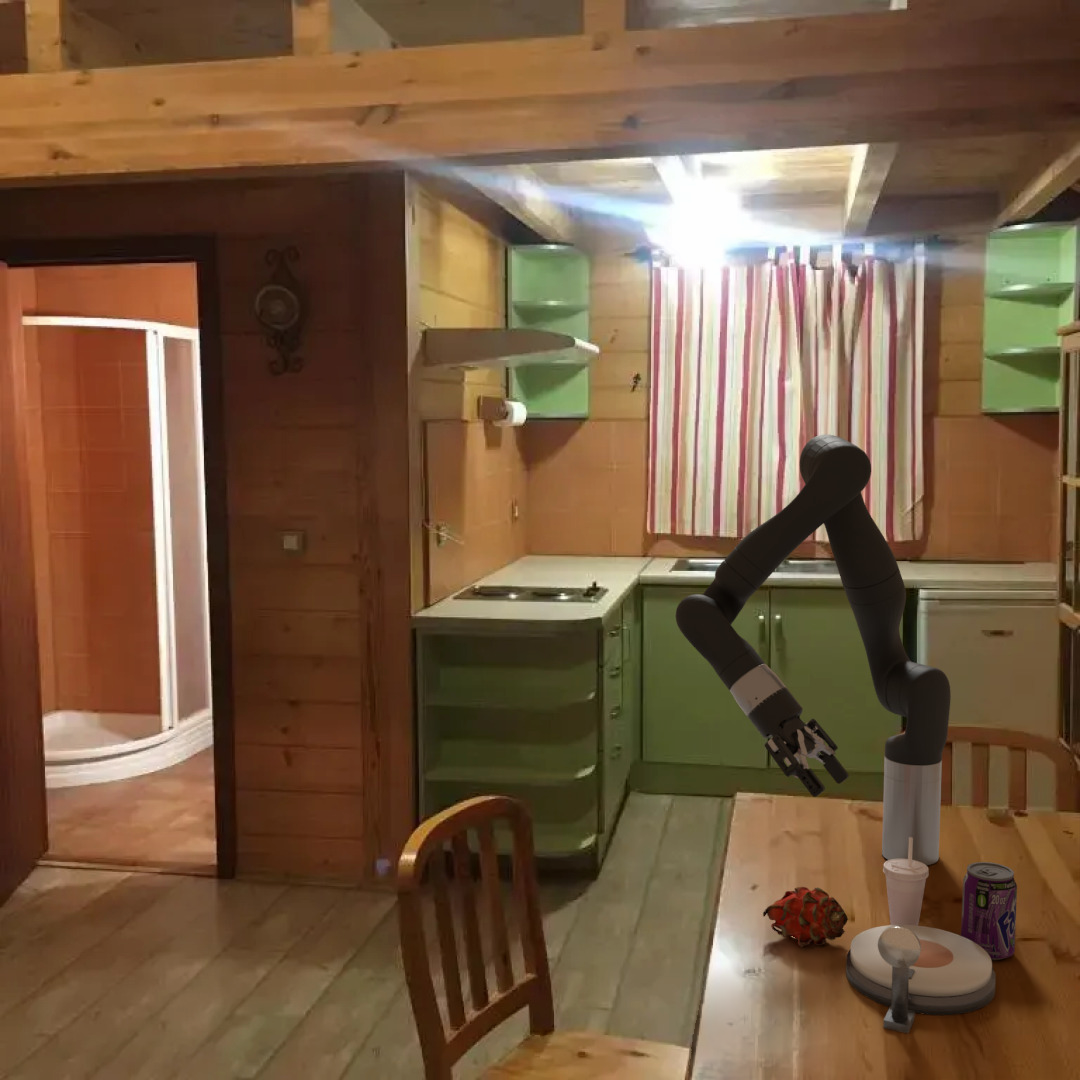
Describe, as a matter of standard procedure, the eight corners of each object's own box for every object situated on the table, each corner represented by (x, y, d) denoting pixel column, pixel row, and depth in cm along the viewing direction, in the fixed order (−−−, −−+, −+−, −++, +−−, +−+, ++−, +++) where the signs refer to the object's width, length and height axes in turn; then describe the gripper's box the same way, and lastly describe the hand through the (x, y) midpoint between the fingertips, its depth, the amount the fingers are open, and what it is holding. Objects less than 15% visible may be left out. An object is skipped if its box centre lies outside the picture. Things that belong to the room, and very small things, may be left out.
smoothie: (929, 941, 177) (932, 846, 175) (882, 937, 178) (885, 843, 176) (924, 922, 183) (927, 831, 181) (879, 919, 184) (882, 828, 183)
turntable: (867, 925, 177) (867, 913, 177) (1000, 951, 168) (1000, 938, 168) (835, 977, 161) (835, 964, 161) (980, 1008, 153) (981, 994, 152)
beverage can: (988, 968, 168) (992, 883, 167) (949, 947, 174) (952, 866, 173) (1025, 957, 171) (1029, 874, 170) (985, 937, 178) (988, 857, 176)
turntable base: (864, 938, 178) (864, 925, 177) (1004, 965, 169) (1004, 951, 169) (830, 994, 161) (830, 980, 161) (983, 1028, 152) (984, 1012, 152)
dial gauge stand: (884, 1008, 157) (886, 910, 156) (924, 1017, 155) (927, 917, 153) (875, 1025, 153) (877, 925, 151) (916, 1035, 151) (919, 933, 149)
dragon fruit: (853, 961, 174) (768, 960, 178) (854, 908, 180) (773, 908, 184) (842, 928, 169) (755, 927, 173) (844, 874, 175) (760, 875, 179)
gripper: (760, 694, 183) (829, 784, 178) (802, 678, 195) (868, 762, 189) (727, 723, 187) (794, 812, 181) (770, 706, 198) (835, 789, 193)
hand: (832, 786), depth 185 cm, fingers open, 8 cm apart
